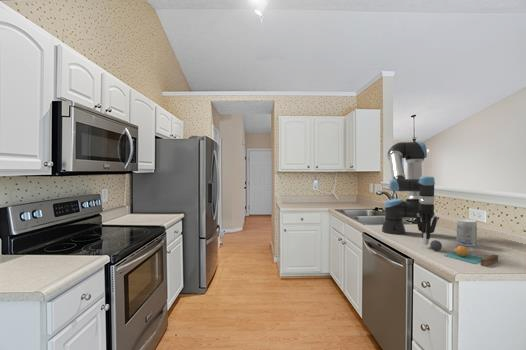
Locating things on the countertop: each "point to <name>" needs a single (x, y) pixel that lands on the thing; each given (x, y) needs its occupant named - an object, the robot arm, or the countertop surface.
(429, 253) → the countertop surface
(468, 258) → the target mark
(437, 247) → the gray ball
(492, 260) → the wall
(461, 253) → the object ball
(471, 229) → the supplement tub
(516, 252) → the countertop surface
